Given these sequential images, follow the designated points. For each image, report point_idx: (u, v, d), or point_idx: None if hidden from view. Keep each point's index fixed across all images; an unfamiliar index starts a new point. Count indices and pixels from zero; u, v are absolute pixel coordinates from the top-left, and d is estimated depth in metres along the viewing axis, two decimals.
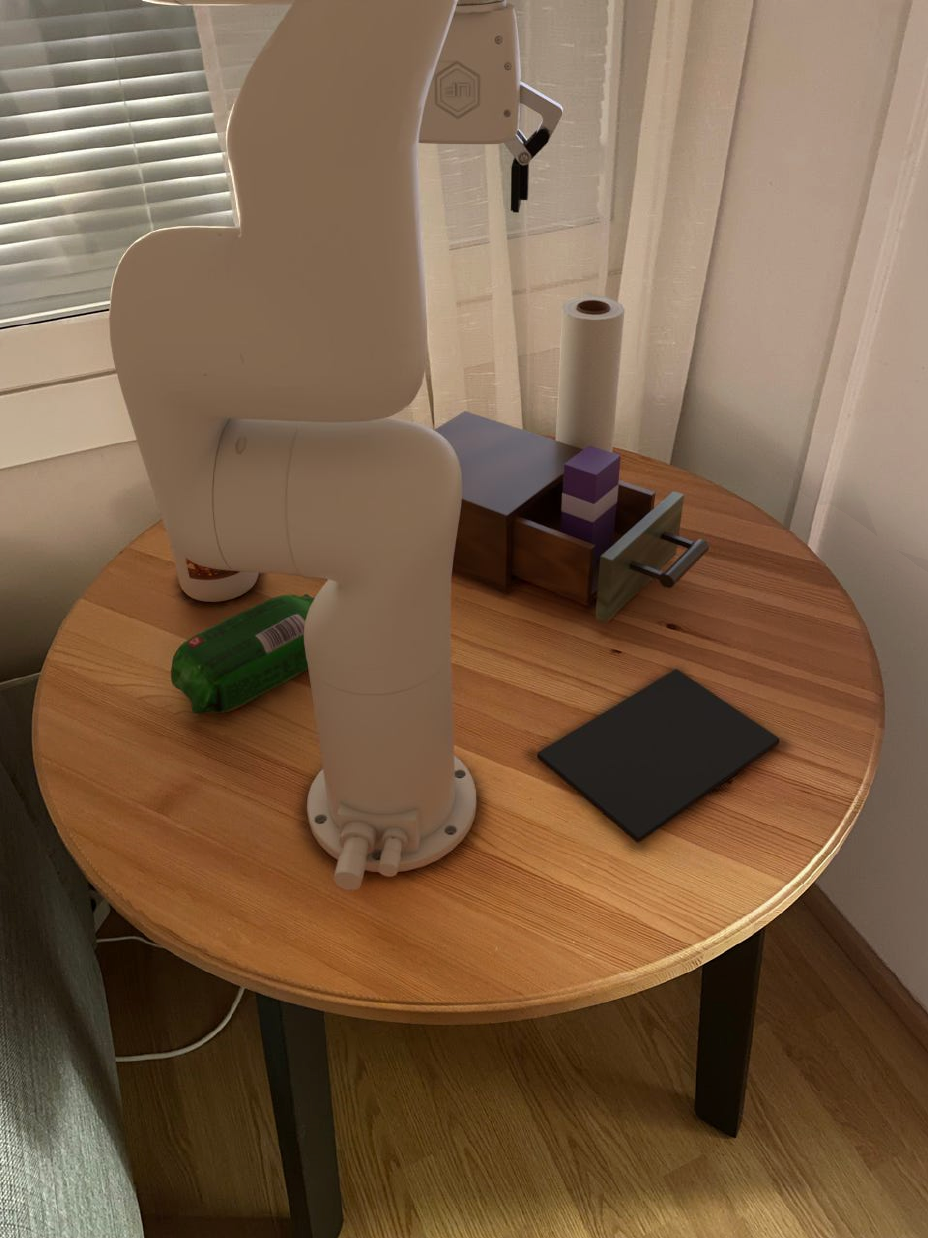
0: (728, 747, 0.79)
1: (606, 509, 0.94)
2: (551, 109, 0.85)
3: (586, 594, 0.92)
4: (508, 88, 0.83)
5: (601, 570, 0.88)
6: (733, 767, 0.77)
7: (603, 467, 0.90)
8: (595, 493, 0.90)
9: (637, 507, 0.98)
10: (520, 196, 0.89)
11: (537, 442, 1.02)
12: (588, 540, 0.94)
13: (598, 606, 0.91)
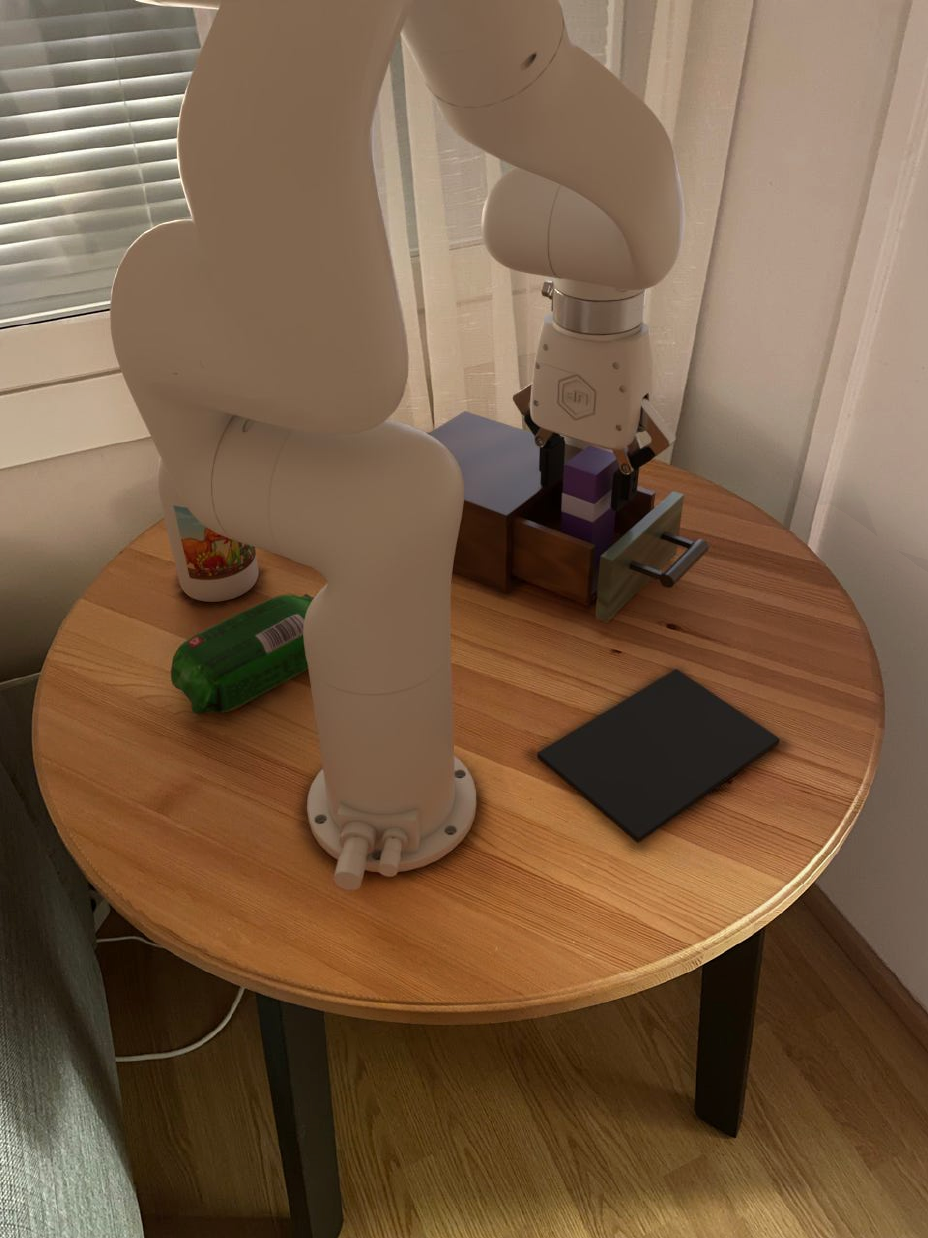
0: (728, 747, 0.79)
1: (606, 509, 0.94)
2: (660, 438, 0.85)
3: (586, 594, 0.92)
4: (621, 407, 0.84)
5: (601, 570, 0.88)
6: (733, 767, 0.77)
7: (603, 467, 0.90)
8: (595, 493, 0.90)
9: (637, 507, 0.98)
10: (622, 497, 0.91)
11: None
12: (588, 540, 0.94)
13: (598, 606, 0.91)
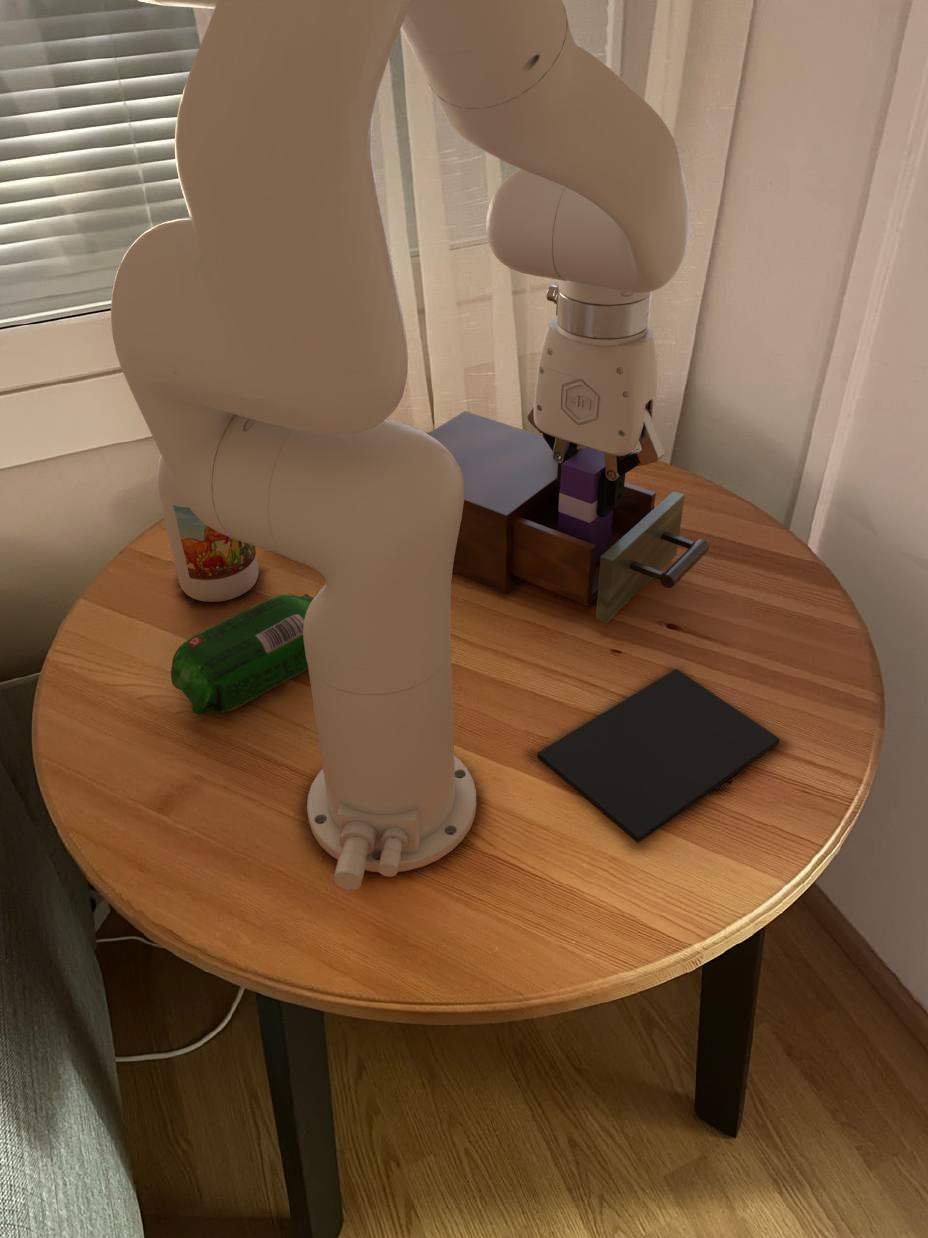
0: (728, 747, 0.79)
1: None
2: (651, 451, 0.86)
3: (586, 594, 0.92)
4: (624, 413, 0.83)
5: (601, 570, 0.88)
6: (733, 767, 0.77)
7: (601, 466, 0.90)
8: (593, 493, 0.90)
9: (637, 507, 0.98)
10: (608, 503, 0.91)
11: (537, 442, 1.02)
12: (585, 541, 0.93)
13: (598, 606, 0.91)
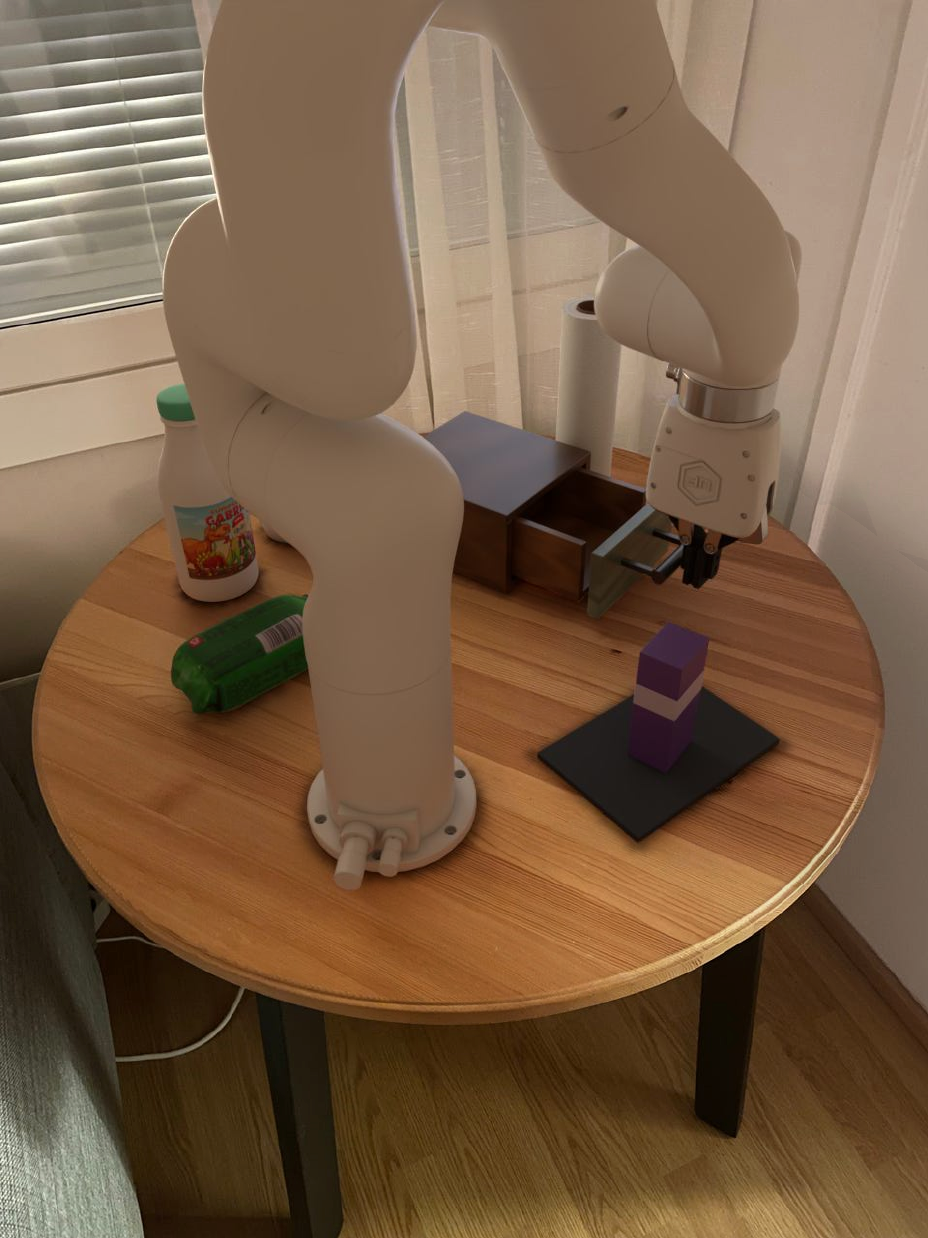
0: (728, 747, 0.79)
1: (690, 701, 0.75)
2: (756, 534, 0.84)
3: (578, 591, 0.92)
4: (748, 496, 0.80)
5: (592, 567, 0.89)
6: (733, 767, 0.77)
7: (690, 656, 0.72)
8: (679, 690, 0.72)
9: (629, 504, 0.98)
10: (704, 575, 0.89)
11: (537, 442, 1.02)
12: (667, 740, 0.75)
13: (589, 602, 0.91)
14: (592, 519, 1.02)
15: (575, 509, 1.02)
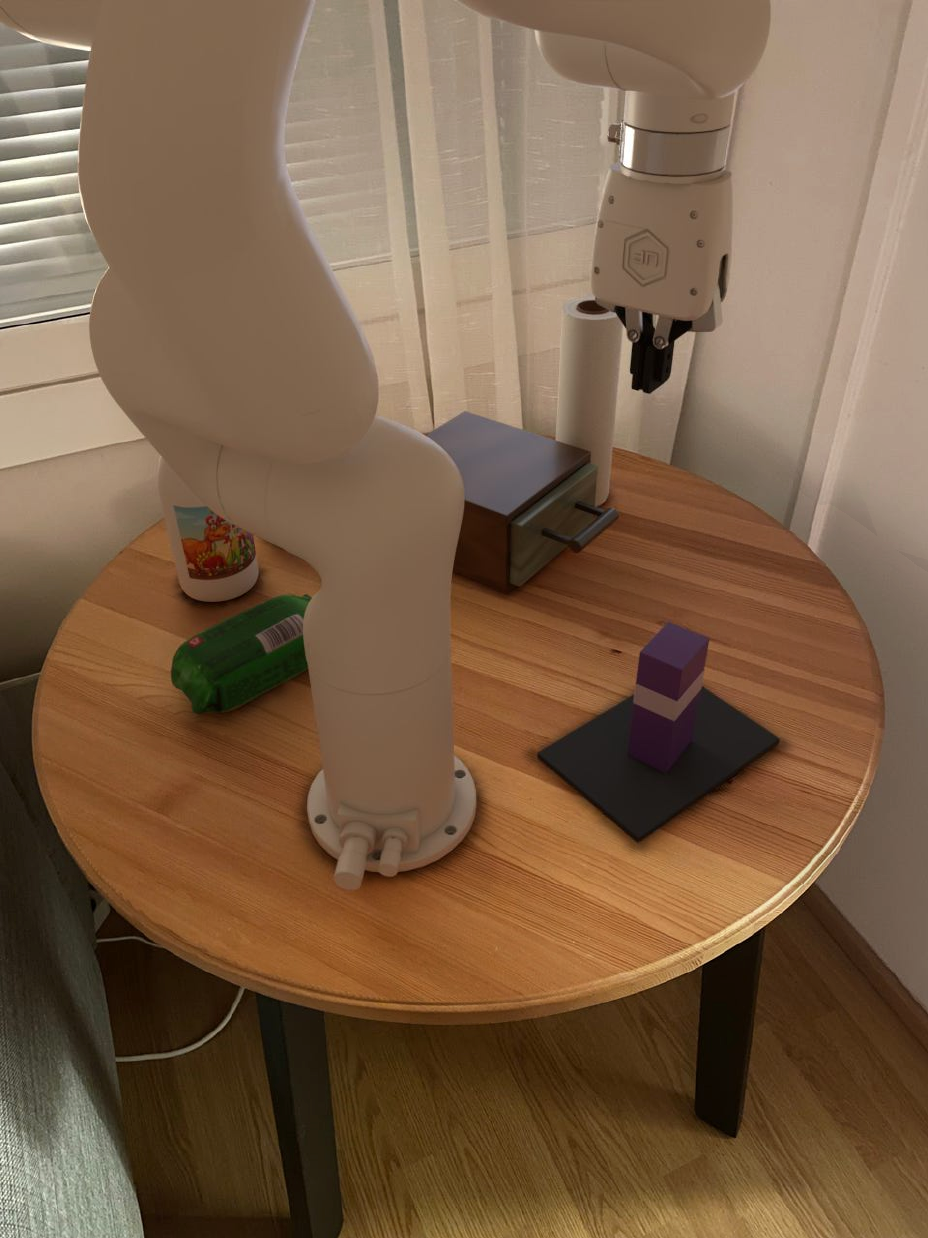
0: (728, 747, 0.79)
1: (690, 701, 0.75)
2: (709, 318, 0.77)
3: None
4: (698, 266, 0.73)
5: (512, 535, 0.93)
6: (733, 767, 0.77)
7: (690, 656, 0.72)
8: (679, 690, 0.72)
9: None
10: (655, 378, 0.82)
11: (537, 442, 1.02)
12: (667, 740, 0.75)
13: (511, 571, 0.95)
14: None
15: None
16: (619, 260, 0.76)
